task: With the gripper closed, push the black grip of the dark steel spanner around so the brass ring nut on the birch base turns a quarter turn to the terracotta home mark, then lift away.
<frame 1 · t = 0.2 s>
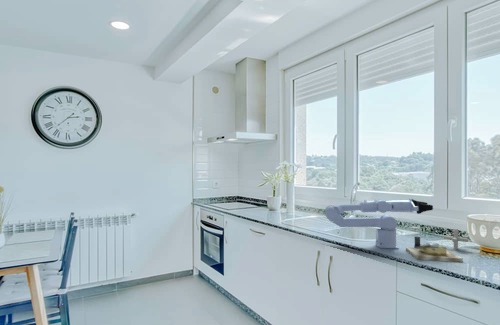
hand: (429, 206, 156), 21 cm above the worktop, tool horizontal, fingers open, 7 cm apart
nut base: (432, 255, 144), on the worktop
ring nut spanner: (428, 244, 143), point 5 cm above the worktop, hinge at 0.0°
pipe connector: (455, 249, 156), on the worktop
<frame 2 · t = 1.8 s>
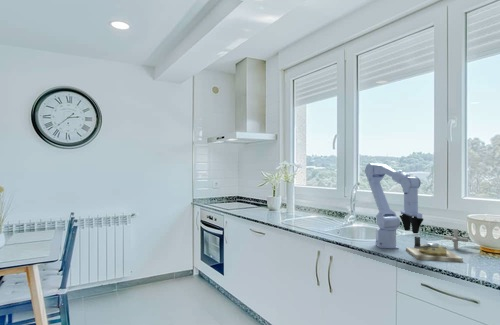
hand: (411, 231, 146), 10 cm above the worktop, tool pointing down, fingers open, 6 cm apart
nothing on the worktop moved.
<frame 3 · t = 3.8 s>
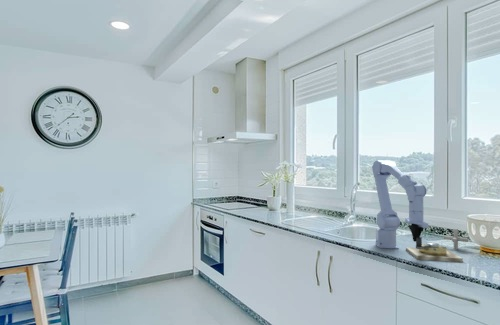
hand: (416, 241, 142), 7 cm above the worktop, tool pointing down, fingers closed
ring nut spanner: (429, 244, 143), point 5 cm above the worktop, hinge at 4.9°, touching gripper
everything else where it was.
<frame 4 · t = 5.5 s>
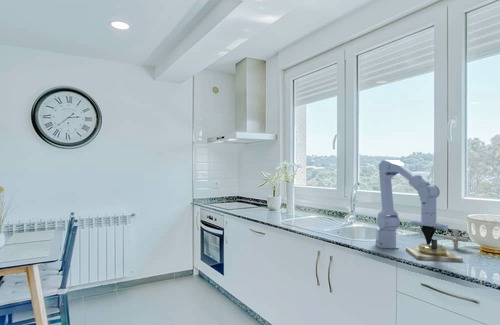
hand: (428, 244, 137), 7 cm above the worktop, tool pointing down, fingers closed
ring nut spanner: (432, 245, 142), point 5 cm above the worktop, hinge at 44.4°, touching gripper
everything else where it was.
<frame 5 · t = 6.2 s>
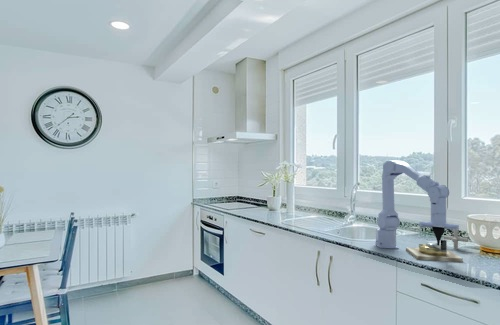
hand: (438, 245, 135), 7 cm above the worktop, tool pointing down, fingers closed
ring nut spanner: (435, 245, 141), point 5 cm above the worktop, hinge at 67.6°, touching gripper
everything else where it was.
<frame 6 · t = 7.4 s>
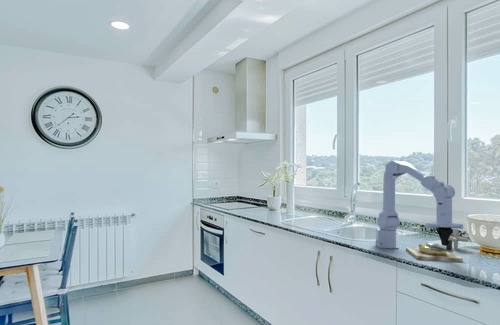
hand: (444, 245, 135), 7 cm above the worktop, tool pointing down, fingers closed
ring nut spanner: (436, 245, 141), point 5 cm above the worktop, hinge at 83.9°, touching gripper
everything else where it was.
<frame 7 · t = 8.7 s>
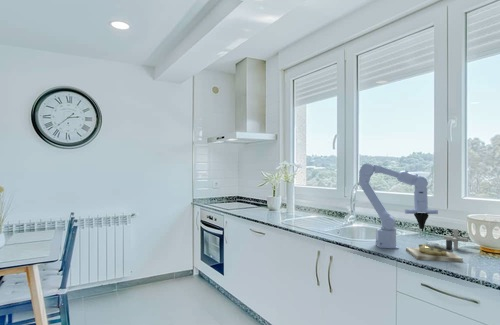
hand: (421, 228, 154), 10 cm above the worktop, tool pointing down, fingers closed
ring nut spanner: (436, 245, 141), point 5 cm above the worktop, hinge at 84.0°
everything else where it was.
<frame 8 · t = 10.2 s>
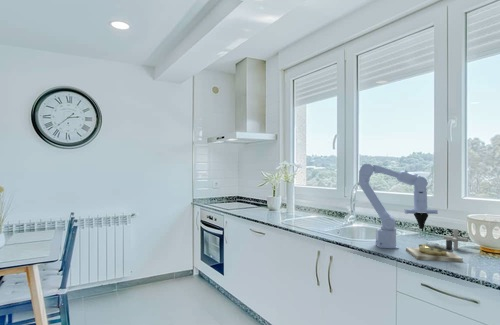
hand: (421, 228, 155), 10 cm above the worktop, tool pointing down, fingers closed
nothing on the worktop moved.
at the end: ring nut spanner at +84° (first picture: +0°); pipe connector moved 0.2 cm from its start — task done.
